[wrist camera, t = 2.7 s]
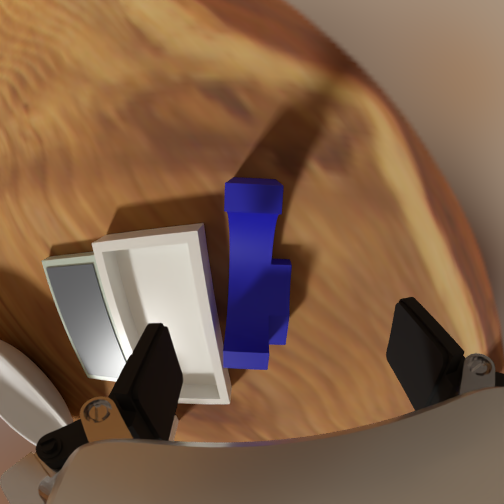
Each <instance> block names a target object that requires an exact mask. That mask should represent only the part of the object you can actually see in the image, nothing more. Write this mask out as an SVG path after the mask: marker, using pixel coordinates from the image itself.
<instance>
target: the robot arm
mask: <svg viewBox="0 0 504 504" xmlns="http://www.w3.org/2000/svg"><path fill="white" fill-rule="evenodd" d="M463 354H464V351H463V349H462V348H461V347H460V346H459V345H458V344H457V343H456V342H455V340H454V339H453V338H452V337H451V336H450V335H449V334H448V333H447V332H446V331H445V329H444V328H443V327H442V326H441V325H440V324H439V323H438V322H437V321H436V320H435V319H434V318H433V317H432V316H431V315H430V314H429V313H428V311H427V310H426V309H425V308H424V307H423V306H422V305H421V304H420V303H419V302H418V301H417V300H416V299H415V298H414V297H409V298H403V299H400V301H399V303H397V304H396V306H395V312H394V318H393V323H392V328H391V333H390V338H389V343H388V348H387V352H386V357H387V360H388V362H389V364H390V366H391V368H392V369H393V371H394V373H395V375H396V376H397V378H398V380H399V382H400V383H401V385H402V387H403V389H404V391H405V392H406V394H407V396H408V398H409V400H410V402H411V404H412V405H413V407H414V409H415V411H414V412H411V413H408V414H405V415H401V416H398V417H395V418H391V419H388V420H384V421H381V422H377V423H373V424H369V425H365V426H361V427H356V428H352V429H347V430H342V431H337V432H332V433H326V434H320V435H314V436H307V437H300V438H291V439H282V440H271V441H257V442H232V443H209V442H179V441H169V437H170V432H171V428H172V424H173V420H174V416H175V412H176V408H177V404H178V400H179V396H180V392H181V388H182V384H183V374H182V371H181V368H180V365H179V362H178V358H177V355H176V352H175V349H174V346H173V342H172V339H171V336H170V332H169V329H168V327H167V326H164V325H163V323H148V325H147V326H146V328H145V330H144V332H143V334H142V335H141V337H140V339H139V341H138V343H137V345H136V347H135V349H134V350H133V352H132V354H131V355H130V356H129V358H128V360H127V362H126V364H125V365H124V367H123V369H122V371H121V373H120V375H119V377H118V379H117V381H116V383H115V385H114V387H113V389H112V391H111V393H110V395H109V397H104V396H99V397H94V398H92V399H90V400H88V401H87V402H86V403H84V404H83V406H82V408H81V410H80V418H81V419H79V420H77V421H75V422H73V423H71V424H68V425H66V426H64V427H62V428H59V429H57V430H55V431H52V432H50V433H48V434H46V435H44V436H42V437H41V438H40V439H39V441H38V443H37V445H36V453H35V454H33V453H32V452H30V453H29V454H28V455H26V456H25V457H24V458H22V459H21V460H20V461H19V462H17V463H16V464H15V465H13V466H12V467H11V468H9V469H8V470H7V471H5V472H4V473H3V475H2V476H1V479H0V485H1V488H2V490H3V492H4V494H5V496H6V497H7V499H8V501H9V503H10V504H504V374H502V373H498V372H495V365H494V363H493V361H492V360H491V359H490V358H489V357H487V356H485V355H483V354H476V353H475V354H471V355H469V356H467V357H466V358H465V357H464V356H463Z"/></svg>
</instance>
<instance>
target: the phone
mask: <svg viewBox="0 0 504 504" xmlns="http://www.w3.org/2000/svg"><path fill="white" fill-rule="evenodd" d="M42 264H43V268H44V271H45V274H46V278H47V281H48V284H49V287H50V290H51V293H52V296H53V299H54V302H55V305H56V307H57V310H58V313H59V315H60V318H61V320H62V323H63V325H64V328H65V330H66V333H67V335H68V337H69V340H70V342H71V344H72V346H73V349H74V351H75V353H76V355H77V357H78V359H79V361H80V363H81V365H82V367H83V369H84V371H85V373H86V375H87V377H88V378H94V379H100V380H108V381H117V379H118V377H119V375H120V373H121V371H122V369H123V367H124V365H125V364H126V362H127V360H128V358H127V355H126V353H125V350H124V348H123V345H122V342H121V340H120V337H119V334H118V332H117V329H116V326H115V323H114V320H113V317H112V314H111V311H110V308H109V305H108V302H107V299H106V296H105V292H104V289H103V286H102V282H101V279H100V275H99V271H98V267H97V264H96V260H95V256H94V251H93V252H85V253H76V254H68V255H59V256H51V257H48V258H46V259H44V260H42Z"/></svg>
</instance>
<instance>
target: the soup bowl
mask: <svg viewBox="0 0 504 504" xmlns="http://www.w3.org/2000/svg"><path fill="white" fill-rule="evenodd" d="M0 417H1V418H2V419H3V420H4V421H5V422H6V423H7V424H8V425H9V426H10V427H11V428H13V429H14V430H15V431H16V432H17V433H19V434H20V435H21V436H23V437H24V438H25V439H26V440H28V441H29V442H31V443H32V444H34V445H35V446H36V445H37V443H38V441H39V439H40V438H41V437H42V436H44V435H46V434H48V433H50V432H52V431H55V430H57V429H59V428H62V427H64V426H66V425H68V424H71V423H73V419H72V417H71V414H70V412H69V409H68V407H67V405H66V403H65V401H64V400H63V398H62V396H61V395H60V393H59V392H58V390H57V389H56V387H55V386H54V385H53V383H52V382H51V381H50V380H49V378H48V377H47V376H46V375H45V374H44V373H43V372H42V371H41V369H40V368H39V367H38V366H37V365H36V364H35V363H34V362H32V361H31V360H30V359H29V358H28V357H27V356H26V355H24V354H23V353H22V352H21V351H19V350H18V349H16V348H15V347H13V346H12V345H10V344H8V343H6V342H4V341H2V340H0Z"/></svg>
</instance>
